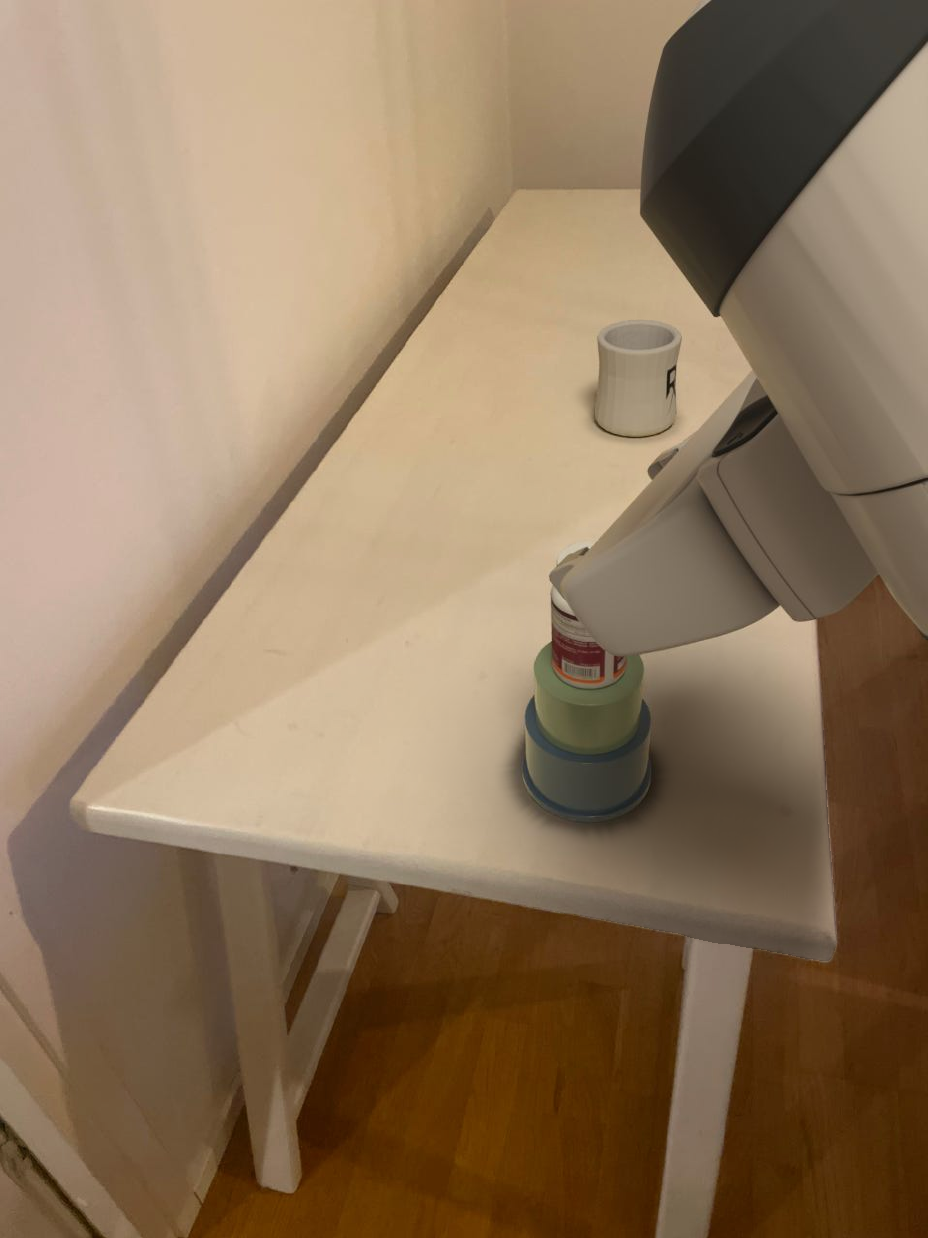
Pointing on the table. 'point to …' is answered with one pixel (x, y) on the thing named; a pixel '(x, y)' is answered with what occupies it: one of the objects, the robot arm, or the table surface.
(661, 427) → the mug
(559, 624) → the pill bottle
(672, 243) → the robot arm
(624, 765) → the cup stack
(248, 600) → the table surface
